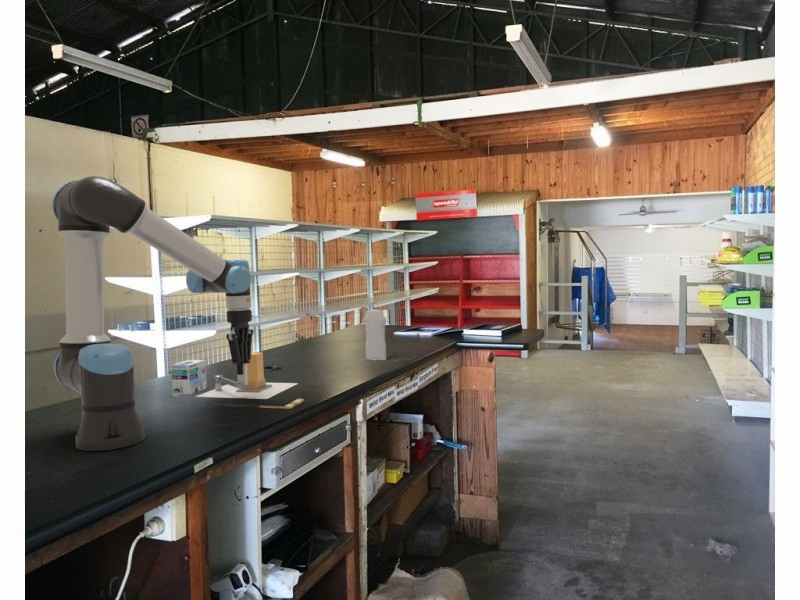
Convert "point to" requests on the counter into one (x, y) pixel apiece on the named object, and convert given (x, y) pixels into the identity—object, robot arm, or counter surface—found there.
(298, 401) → the tan flat l-shape
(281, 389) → the socket board
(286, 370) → the counter surface
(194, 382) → the light bulb box
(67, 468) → the counter surface
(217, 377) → the silver metal bar
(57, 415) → the counter surface
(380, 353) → the tall pale column
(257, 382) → the tan tall block
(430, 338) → the counter surface
